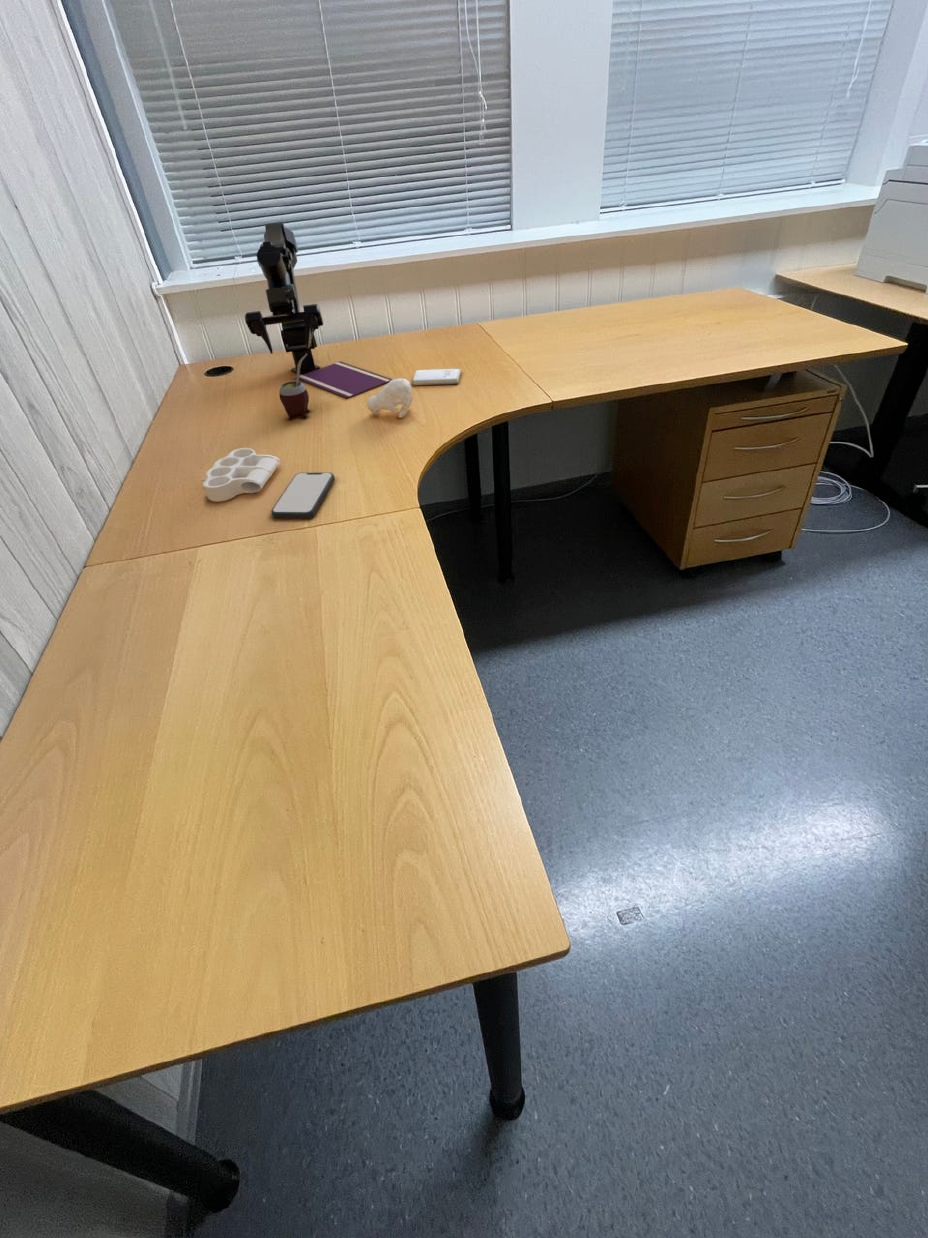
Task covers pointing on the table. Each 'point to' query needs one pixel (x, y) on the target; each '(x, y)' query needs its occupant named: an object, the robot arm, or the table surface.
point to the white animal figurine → (392, 397)
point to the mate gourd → (295, 397)
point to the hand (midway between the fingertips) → (289, 350)
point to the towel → (344, 379)
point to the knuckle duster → (239, 474)
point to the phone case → (303, 495)
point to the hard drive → (436, 376)
